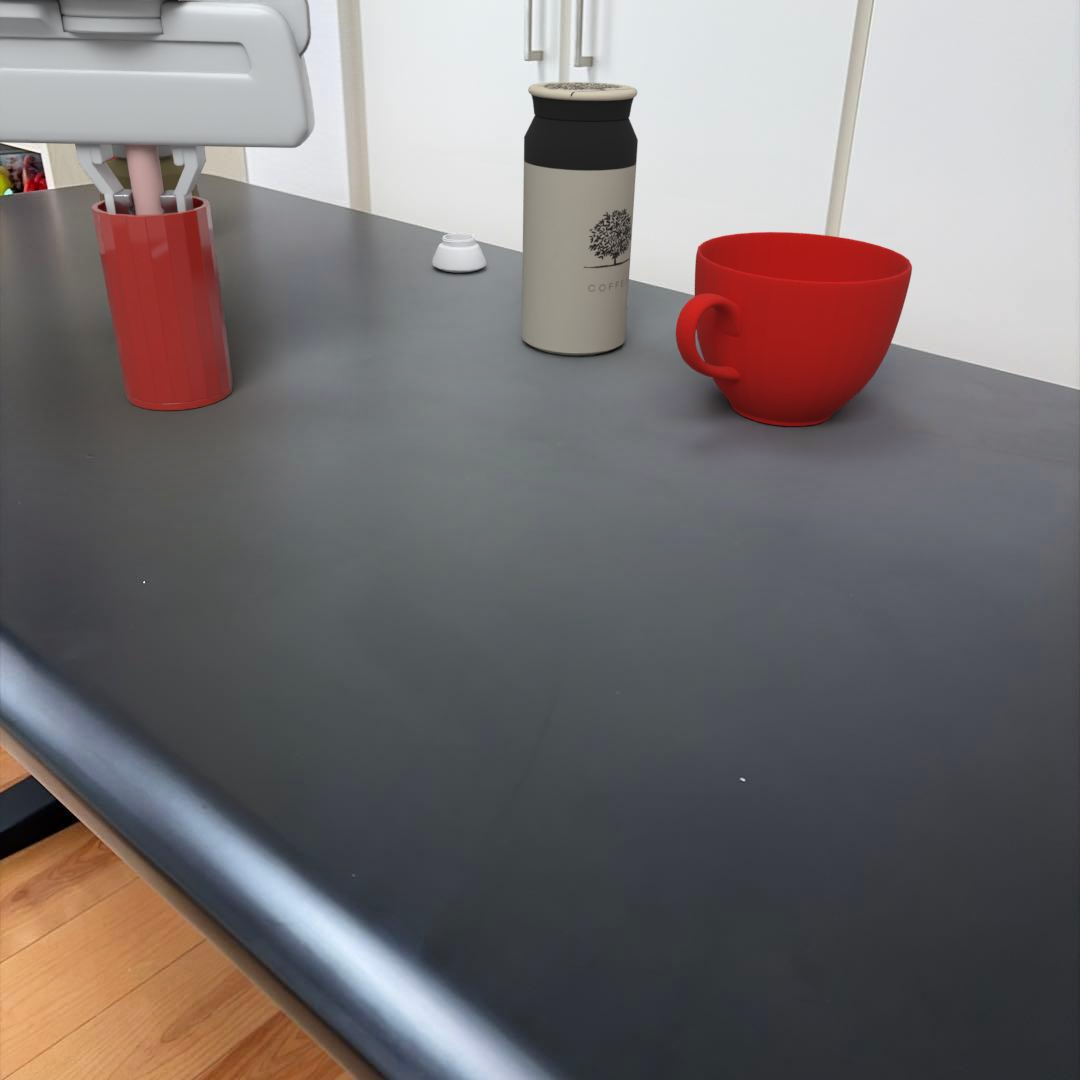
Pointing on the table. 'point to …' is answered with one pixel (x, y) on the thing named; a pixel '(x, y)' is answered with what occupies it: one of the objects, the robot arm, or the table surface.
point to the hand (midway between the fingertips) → (152, 222)
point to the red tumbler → (166, 306)
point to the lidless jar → (459, 254)
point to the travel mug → (578, 217)
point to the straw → (145, 178)
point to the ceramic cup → (791, 321)
